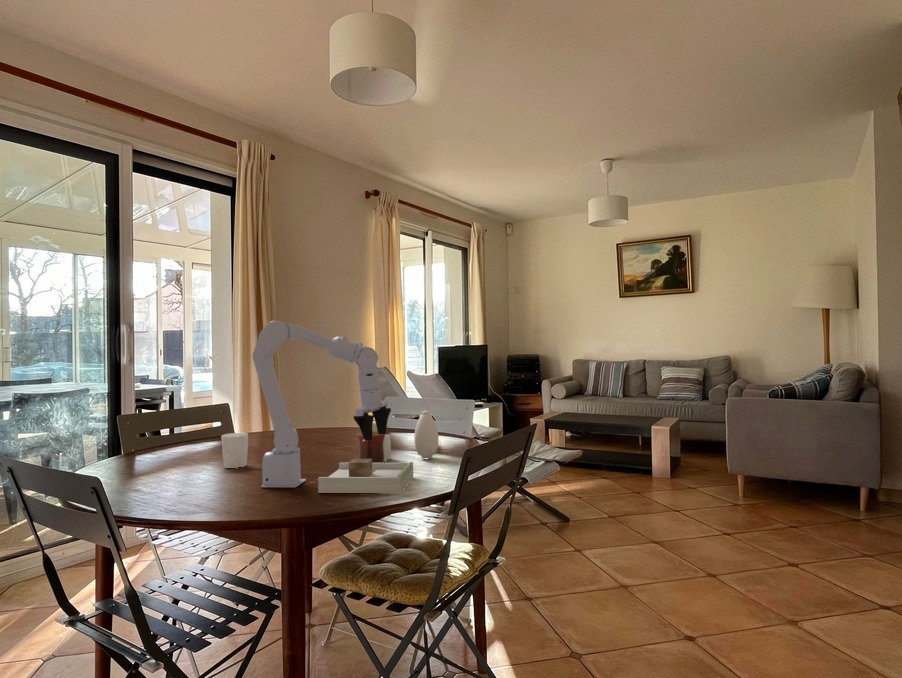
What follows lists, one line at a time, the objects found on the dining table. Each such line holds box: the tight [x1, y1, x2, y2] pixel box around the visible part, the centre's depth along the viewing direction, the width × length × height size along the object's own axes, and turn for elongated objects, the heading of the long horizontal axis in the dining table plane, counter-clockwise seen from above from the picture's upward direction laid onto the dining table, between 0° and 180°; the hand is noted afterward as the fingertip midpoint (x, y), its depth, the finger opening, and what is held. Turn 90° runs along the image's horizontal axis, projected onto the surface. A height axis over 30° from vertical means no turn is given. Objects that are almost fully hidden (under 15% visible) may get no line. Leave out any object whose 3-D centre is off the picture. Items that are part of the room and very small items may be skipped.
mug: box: [356, 431, 387, 463], centre depth 170 cm, size 12×9×10 cm
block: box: [348, 458, 372, 477], centre depth 150 cm, size 5×5×4 cm
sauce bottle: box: [413, 403, 440, 459], centre depth 182 cm, size 8×8×18 cm
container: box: [372, 419, 392, 463], centre depth 181 cm, size 8×8×13 cm
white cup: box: [220, 432, 249, 469], centre depth 177 cm, size 8×8×10 cm
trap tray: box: [317, 461, 414, 495], centre depth 149 cm, size 21×18×4 cm
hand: (375, 437), depth 159 cm, fingers open, 7 cm apart
